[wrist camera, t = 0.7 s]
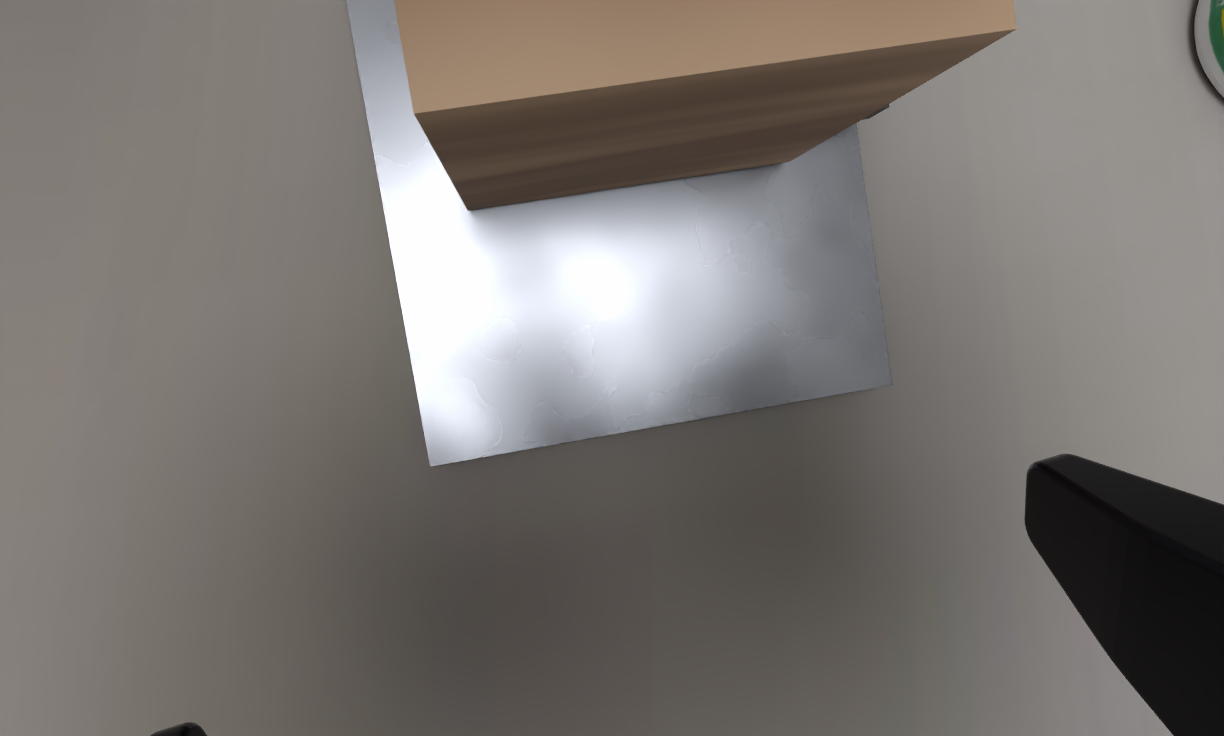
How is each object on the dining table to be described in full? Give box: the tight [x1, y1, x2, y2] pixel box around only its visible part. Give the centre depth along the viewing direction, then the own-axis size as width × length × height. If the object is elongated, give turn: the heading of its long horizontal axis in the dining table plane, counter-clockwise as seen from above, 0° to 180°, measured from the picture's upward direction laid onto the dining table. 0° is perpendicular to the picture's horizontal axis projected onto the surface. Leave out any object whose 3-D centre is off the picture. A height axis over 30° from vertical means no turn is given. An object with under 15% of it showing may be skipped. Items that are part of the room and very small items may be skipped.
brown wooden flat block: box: [394, 0, 1017, 210], centre depth 16 cm, size 2×10×10 cm, turn 99°
